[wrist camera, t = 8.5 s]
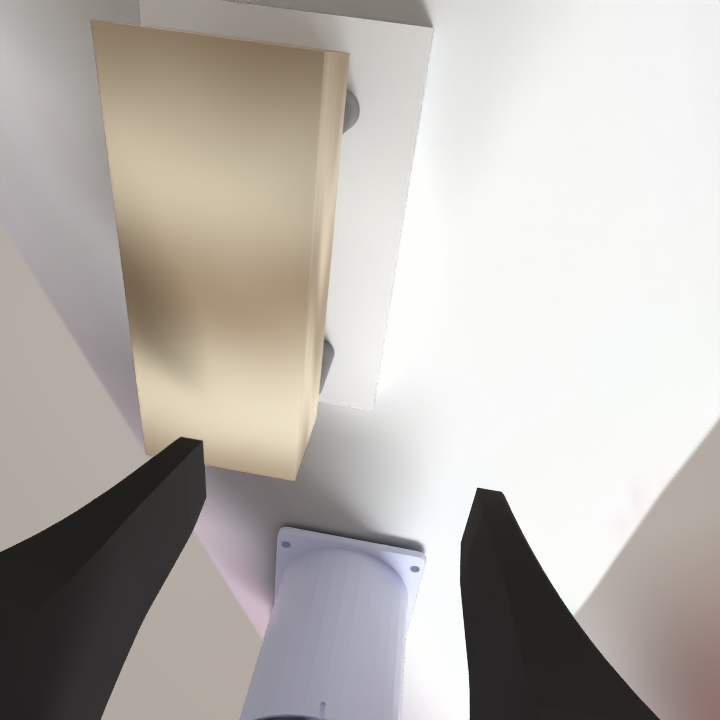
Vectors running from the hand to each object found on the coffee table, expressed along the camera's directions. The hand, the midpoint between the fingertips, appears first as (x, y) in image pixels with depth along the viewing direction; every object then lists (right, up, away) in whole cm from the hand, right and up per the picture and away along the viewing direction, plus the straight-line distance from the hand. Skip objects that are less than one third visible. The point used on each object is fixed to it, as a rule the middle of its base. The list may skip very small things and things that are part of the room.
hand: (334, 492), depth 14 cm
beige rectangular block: (-3, +7, +3) cm, 8 cm away
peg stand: (-2, +8, +6) cm, 11 cm away
